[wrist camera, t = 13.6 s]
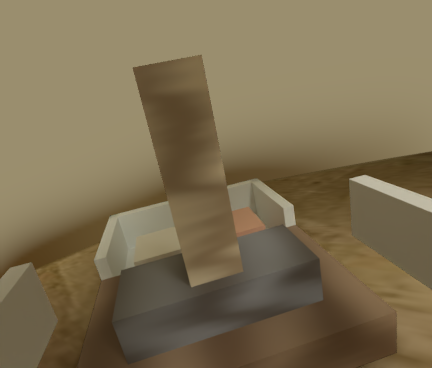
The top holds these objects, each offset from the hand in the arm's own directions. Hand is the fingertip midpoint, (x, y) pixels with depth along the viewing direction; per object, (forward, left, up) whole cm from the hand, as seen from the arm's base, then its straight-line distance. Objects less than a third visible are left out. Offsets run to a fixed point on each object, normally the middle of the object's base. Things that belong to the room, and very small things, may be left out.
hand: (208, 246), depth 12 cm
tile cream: (+3, -15, -10) cm, 18 cm away
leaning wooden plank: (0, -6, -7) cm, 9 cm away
